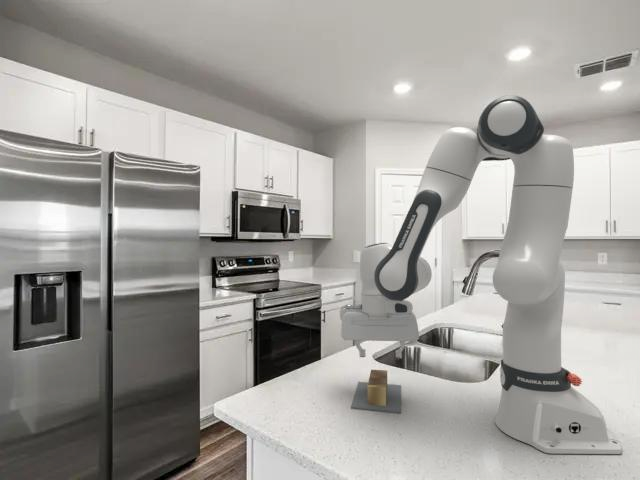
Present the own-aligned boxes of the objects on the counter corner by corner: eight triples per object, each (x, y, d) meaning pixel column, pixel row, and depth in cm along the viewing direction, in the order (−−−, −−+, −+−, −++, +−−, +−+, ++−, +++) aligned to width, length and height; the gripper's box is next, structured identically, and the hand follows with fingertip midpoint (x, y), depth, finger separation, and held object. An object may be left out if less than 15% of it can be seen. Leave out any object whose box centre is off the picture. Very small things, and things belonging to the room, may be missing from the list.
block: (387, 370, 101) (385, 387, 89) (387, 386, 101) (385, 406, 89) (371, 369, 102) (367, 386, 90) (371, 385, 102) (367, 404, 90)
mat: (400, 386, 102) (400, 385, 102) (400, 413, 86) (400, 411, 86) (358, 383, 104) (358, 381, 104) (351, 408, 89) (351, 406, 89)
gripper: (337, 306, 94) (339, 359, 94) (418, 306, 90) (420, 362, 89) (341, 302, 100) (343, 352, 100) (417, 302, 96) (419, 354, 95)
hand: (380, 357), depth 95 cm, fingers open, 8 cm apart
